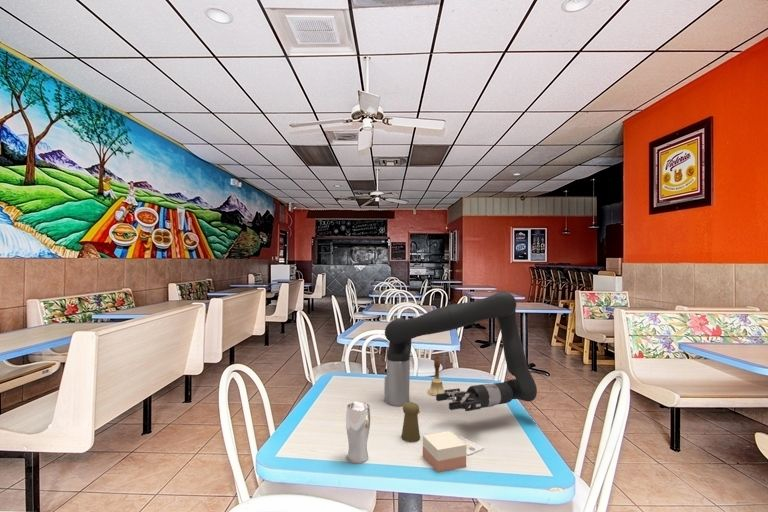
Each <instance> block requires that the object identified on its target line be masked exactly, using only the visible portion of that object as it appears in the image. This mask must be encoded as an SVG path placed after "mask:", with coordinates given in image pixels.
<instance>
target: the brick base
mask: <svg viewBox="0 0 768 512" xmlns="http://www.w3.org/2000/svg"><path fill="white" fill-rule="evenodd" d="M422 457H423V458H424V460H426V461H427V463H429V465H430V466H431V467H432V468H433V469H434V470H435V472H437V473H440V472H445V471H450V470H454V469H460V468H465V466H466V467H467V455H466V444H465V443H464V442H462V441H461V440H460V439H459V438H458V436H457V435H455V434H454V433H452V431H449V430H448V431H443V432H442V431H441V432H437V433H431V434H424V435H422Z"/></svg>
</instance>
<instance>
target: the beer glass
mask: <svg viewBox="0 0 768 512" xmlns="http://www.w3.org/2000/svg"><path fill="white" fill-rule="evenodd" d="M370 407H371V406H370V404H369V403H367V402H364V401H355V402H354V401H352V402H350V403H348V404H347V405H346V415H345V429H346V435H347V441H348V450H347V451H348V452H347V455H346V459H347V461H348V462H350V463H351V464H356V465H357V464H362V463H363V464H364V463H366V462H367V461H368V460H369V453H368V439H369V435H370V429H371V409H370Z"/></svg>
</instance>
